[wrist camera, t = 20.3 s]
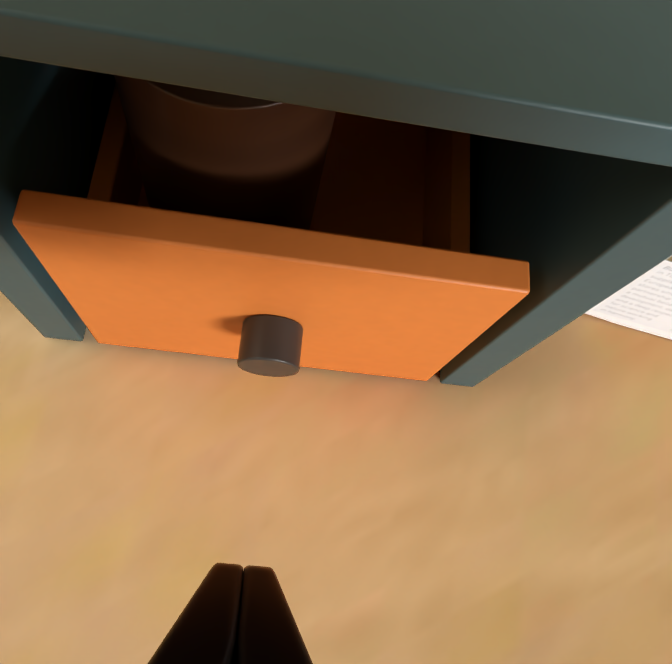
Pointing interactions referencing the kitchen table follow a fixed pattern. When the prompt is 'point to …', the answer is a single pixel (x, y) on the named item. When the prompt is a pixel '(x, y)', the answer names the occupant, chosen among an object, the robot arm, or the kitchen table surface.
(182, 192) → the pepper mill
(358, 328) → the drawer
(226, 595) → the robot arm
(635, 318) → the syrup box
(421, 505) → the kitchen table surface
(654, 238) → the cubby
